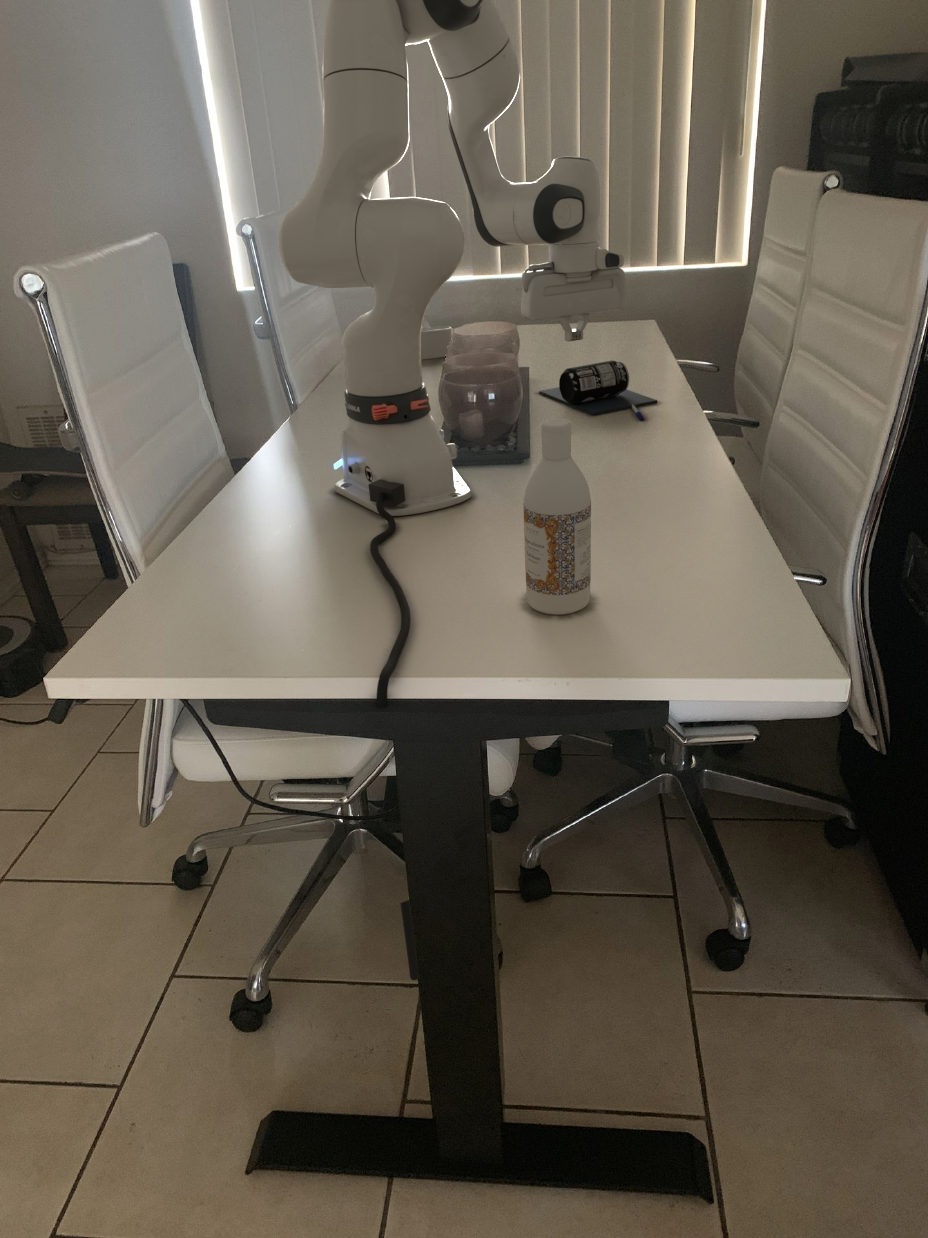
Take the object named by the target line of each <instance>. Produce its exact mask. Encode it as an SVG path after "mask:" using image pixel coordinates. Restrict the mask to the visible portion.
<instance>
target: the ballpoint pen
mask: <svg viewBox="0 0 928 1238" xmlns="http://www.w3.org/2000/svg"><path fill="white" fill-rule="evenodd" d="M630 409H632V411H633V412H634V413H635V415H636V417H637V418H638V420H640V421H641V422H643V421H644V420H645V418H644V416H643V414H642V412H641V411H640V410H638V409H637V407H635V406H634V405H633V404H632V406H631V408H630Z"/></svg>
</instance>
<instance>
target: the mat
mask: <svg viewBox="0 0 928 1238" xmlns="http://www.w3.org/2000/svg"><path fill="white" fill-rule="evenodd" d="M538 394H540V395H543V396H545V397H547V398H550V399H552V400H554V401H557V402H559V403H561V404H564V405H567V406H569V407H571V408H574V409H576V410H578V411H581V412H583V413H586V414H588V415H591V416H597V415H603V414H606V413H607V414H608V413H613V412H617V411H623V410H628V409H632V408H631V406H632V404H633V405H634V406H635V407H636V408H638V407H643V406H648V405H653V404H658V400H657V399H654V398H652V397H649V396H646V395H643V394H641V393H638V392H635V391H631V390H629V389H626V390H625V391H624V392H621V393H620V394H619V395H617V396H613V397H608V398H602V399H597V400H592V401H587V402H582V403H577V404H569V403H568V402H566V401H565V400H564V399H563V397H562V395H561V393H560V388H559V387H553V388H548V389H542V390H539V391H538Z"/></svg>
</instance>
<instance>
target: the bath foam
mask: <svg viewBox="0 0 928 1238" xmlns="http://www.w3.org/2000/svg"><path fill="white" fill-rule="evenodd" d="M540 426H541V427H540V429H541V430H540V433H541V458H540V460H539V461H538V463H537V465H536V466H535V467H534V469H533V471H532V472H531V475H530V476H529V478H528V480H527V483H526V485H525V489H524V495H523V503H522V505H523V532H524V533H523V535H524V536H523V537H524V560H525V561H524V563H525V564H524V565H525V569H524V570H525V589H526V590H525V591H526V593H525V594H526V601H527V603H528V605H529V606H530V607H531V608H532V609H533V610H535V611H537V612H539V613H542V614H548V615H558V616H559V615H569V614H574V613H575V612H579V611H581V610H583V609H584V608H585V607H586V606H588V605H589V602H590V601H591V578H592V577H591V575H592V574H591V573H592V571H591V570H592V566H591V565H592V562H591V561H592V560H591V559H592V555H591V554H592V497H591V492H590V487H589V484H588V481H587V479H586V477H585V476H584V474H583V472H582V470H581V469H580V467H579V466H578V464H577V463H576V461H575V460H574V459H573V458H572V457H573V456H572V423H571V421H570V420H568V419H567V418H549V419H546V420H543V421H542V422H541V425H540Z"/></svg>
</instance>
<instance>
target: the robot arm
mask: <svg viewBox="0 0 928 1238" xmlns="http://www.w3.org/2000/svg"><path fill="white" fill-rule="evenodd" d="M424 42H427V43H428V45H429V48H430V51H431V54H432V57H433V59H434V62H435V65H436V67H437V69H438V72H439V74H440V76H441V78H442V81H443V83H444V87H445V90H446V93H447V97H448V104H447V108H446V121H447V127H448V130H449V134H450V137H451V141H452V143H453V144H452V145H453V147H454V150H455V153H456V157H457V159H458V162H459V166H460V168H461V171H462V175H463V177H464V181H465V183H466V187H467V190H468V193H469V197H470V200H471V205H472V213H473V220H474V225H475V227H476V230H477V232H478V234H479V236H480V237H481V238H482V240H483V241H484V242H485V243H486V244H488V245H489V246H491V247H496V248H498V247H499V248H500V247H508V246H509V247H510V246H548V262H543V263H539V264H538V263H537V264H536V263H534V264H530V265H529V266H528V267H527V268H526V269H525V270H524V271H523V272H522V274H521V286H522V291H521V304H520V305H521V306H520V313H521V316H522V317H523V318H524V319H525V320H527V321H532V322H536V321H543V320H550V319H557V318H558V323H559V324H560V326H561V328H562V330H563V331H564V341H566V342H568V343H570V342H576V341H582V340H584V330H585V328H586V326H587V325H588V322H589V320H590V314H594V313H600V312H608V311H614V310H615V311H617V310H621V309H623V308H624V306H625V304H626V302H627V279H626V273H625V270H623V269H622V267H623V266H624V264H625V255H623V254H622V253H618V252H615V251H613V250H612V251H611V250H608V249H606V248H601V247H600V235H599V229H598V223H599V219H600V213H601V191H600V179H599V173H598V167H597V165H596V163H595V162H594V161H593V160H591V159H589V158H587V157H580V156H560V157H557V158H554V159H553V160H552V161H551V165H550V166H551V167H549V169H548V170H547V172H546V173H544V174H543V176H541V177H539V178H538V179H536V180H535V181H532V182H512V181H510V180H507V179H506V178H505V177H504V176H503V175H502V173H501V171H500V170H501V169H500V167H499V164H498V160H497V156H496V154H495V150H494V146H493V144H492V140H491V137H490V125H491V124H493V123H494V122H495V121H497V119H498V118H499V117H501V116H502V115H503V114H504V113H505V112H506V111H507V109H509V107H510V106H511V104H512V103H513V101H514V99H515V97H516V96H517V92H518V90H519V85H520V79H521V73H520V66H519V61H518V57H517V54H516V51H515V49H514V46H513V43H512V41H511V37H510V36H509V33H508V31H507V28H506V26H505V23H504V22H503V18H502V16H501V15H500V12H499V10H498V8H497V6H496V4H495V2H494V0H328V3H327V7H326V13H325V21H324V30H323V43H322V44H323V45H322V89H323V90H322V94H323V95H322V96H323V99H322V100H323V128H322V130H323V131H322V148H321V154H320V158H319V162H318V165H317V169H316V171H315V172H314V173H315V174H314V176H313V178H312V181H311V183H310V184H309V187H308V188H307V190H306V192H305V193H304V194H303V196H302V198H301V199H300V200H299V201H298V202H297V203H296V204H295V205H294V206H293V207H292V208H291V209H290V210H289V211H288V212H287V213H286V214H285V215H284V218H282V219H283V220H282V221H281V224H280V226H279V229H278V234H277V235H278V236H277V248H278V255H279V258H280V260H281V263H282V266H283V267H284V269H285V270H286V272H287V273H288V275H289V276H290V277H291V278H292V279H293V280H294V281H295V282H296V283H299V284H304V285H309V286H313V287H319V288H324V289H354V288H355V289H357V288H372V289H373V290H374V294H375V295H374V304H373V307H372V309H371V310H369V311H367V312H366V313H364V314H362V315H360V316H359V317H358V318H357V319H355V320H353V321H352V322H351V323H350V324H349V325H348V326H347V327H346V329H345V330H344V333H343V335H342V338H341V351H342V361H343V369H344V375H345V376H344V377H345V384H346V389H345V390H344V406H345V410H346V411H345V412H346V415H347V417H348V421H347V423H346V426H345V427H344V428H343V430H342V431H341V433H340V435H339V439H340V440H339V441H340V453H341V458H340V459H339V460H337V461H336V462H335V463H333V470H337V469H339V468H341V466H342V479H340V480H338V481H337V482H336V483H335V484H334V491H335V493H337V494H339V495H341V496H343V497H345V498H347V499H348V500H351V501H353V502H354V503H357V504H359V505H361V506H362V507H364V508H367V509H368V510H370V511H372V512H374V513H376V514H378V515H379V516H380V517H382V519H384V520H385V521H386V522H387V524H388V527H387V528H386V529H385V530H384V531H383V532H381V533H379V534H377V535H376V536H375V537H374V538H373V539H371V541H370V546H369V551H370V554H371V557H372V559H373V560H374V562H375V564H376V565H377V566H378V568H379V570H380V572H381V574H382V575H383V577H384V579H385V580H386V581H387V583H388V584H389V586H390V587H391V589H392V591H393V593H394V596H395V598H396V601H397V603H398V606H399V607H398V608H399V611H400V627H399V632H398V635H397V636H396V640H395V642H394V644H393V645H392V648H391V650H390V653H389V657H388V658H387V660H386V663H385V665H383V667H382V669H381V672H380V674H379V677H378V681H377V687H376V699H375V700H376V701H375V705H376V708H377V709H378V710H383V709H386V708H387V706H388V690H389V689H388V688H389V682H390V678H391V676H392V674H393V672H394V671H395V669H396V667H397V666H398V662H399V660H400V657H401V654H402V652H403V649H404V647H405V644H406V642H407V639H408V636H409V632H410V628H411V611H410V607H409V603H408V600H407V597H406V595H405V593H404V590H403V588H402V587H401V584H400V583H399V581H398V580H397V579H396V576H394V574H393V572H392V571H391V570H390V568H389V567H388V565H387V563H386V560H385V559H384V557H382V555H381V553H380V551H379V544H380V543H382V542H384V541H386V540H387V539H389V538H390V537H391V536H393V535H394V533H395V531H396V530H397V529H396V528H397V523H396V519H395V518H394V517H399V516H401V517H402V516H409V515H416V514H422V513H427V512H431V511H436V510H440V509H445V508H448V507H453V506H456V505H459V504H461V503H462V502H465V501H467V500H469V499H470V498H472V497H473V496H472V495H473V494H472V490H471V489H470V487H469V486H468V485H467V483H466V481H465V480H464V479H463V478H462V476H461V475H460V474H459V472H458V470H457V469H456V468H455V467H454V464H453V460H456V459H457V458H458V450H457V446H456V444H455V443H454V442H451V443H446V441H445V431H444V430H443V429H439V428H438V426H437V424H436V422H435V420H434V416H432V415H431V413H430V412H431V404H430V398H429V393H428V391H427V386H426V384H425V382H423V371H422V360H421V328H422V323H423V319H424V315H425V316H426V312H427V310H428V307H429V305H430V303H431V301H432V299H433V298H434V296H435V295H436V294H437V292H438V291H439V289H440V288H441V287H442V286H443V285H444V284H445V283H446V282H447V281H448V280H450V279H451V278H452V276H453V275H454V274H455V273H456V271H457V269H458V268H459V266H460V264H461V262H462V259H463V255H464V252H465V234H464V229H463V226H462V223H461V220H460V219H459V216H458V215H457V213H456V212H455V211H454V209H453V208H452V207H451V206H450V205H449V204H448V203H447V202H444V201H440V200H434V199H430V198H423V197H416V196H408V197H407V196H406V197H405V196H403V197H388V198H387V197H386V198H371V194H372V191H373V188H374V186H375V185H376V183H377V181H378V180H379V178H380V177H381V176H382V175H383V174H385V173H386V172H388V171H389V170H391V169H392V168H394V167H395V166H397V165H398V164H399V163H400V161H401V160H402V159H403V157H404V156H405V154H406V152H407V151H408V148H409V143H410V110H409V109H410V106H409V105H410V104H409V103H410V101H409V67H408V55H407V53H408V52H407V46H409V45H418V44H422V43H424ZM573 316H576V319H577V324H576V326H575V327H574V328H572V327H571V325H570V323H572V317H573ZM400 911H401V918H402V925H403V933H404V939H405V949H406V956H407V963H408V970H409V978H410V980H412V981H416V980H418V979H419V978H420V972H419V971H420V970H419V964H418V956H417V948H416V939H415V931H414V924H413V916H412V907H411V901H410V899H407V900H405V901H403V902H400Z"/></svg>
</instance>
